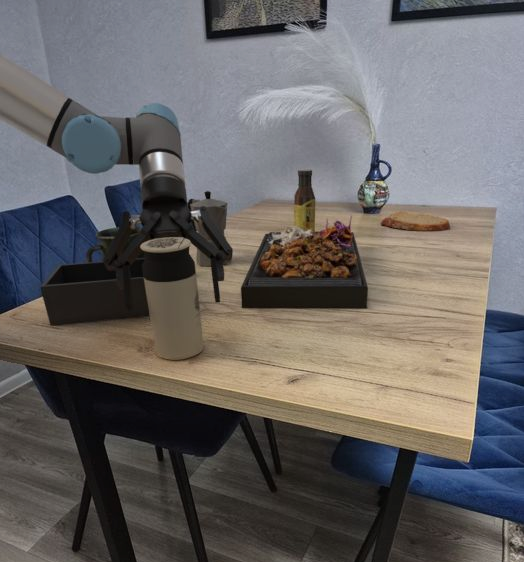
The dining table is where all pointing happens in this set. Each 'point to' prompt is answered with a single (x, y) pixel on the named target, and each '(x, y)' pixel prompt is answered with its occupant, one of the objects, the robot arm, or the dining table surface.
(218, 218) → the coffeepot
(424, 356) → the dining table surface
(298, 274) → the food platter
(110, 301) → the bin
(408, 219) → the bread slice
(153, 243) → the travel mug
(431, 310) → the dining table surface
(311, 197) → the sauce bottle
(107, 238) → the mug
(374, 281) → the dining table surface
